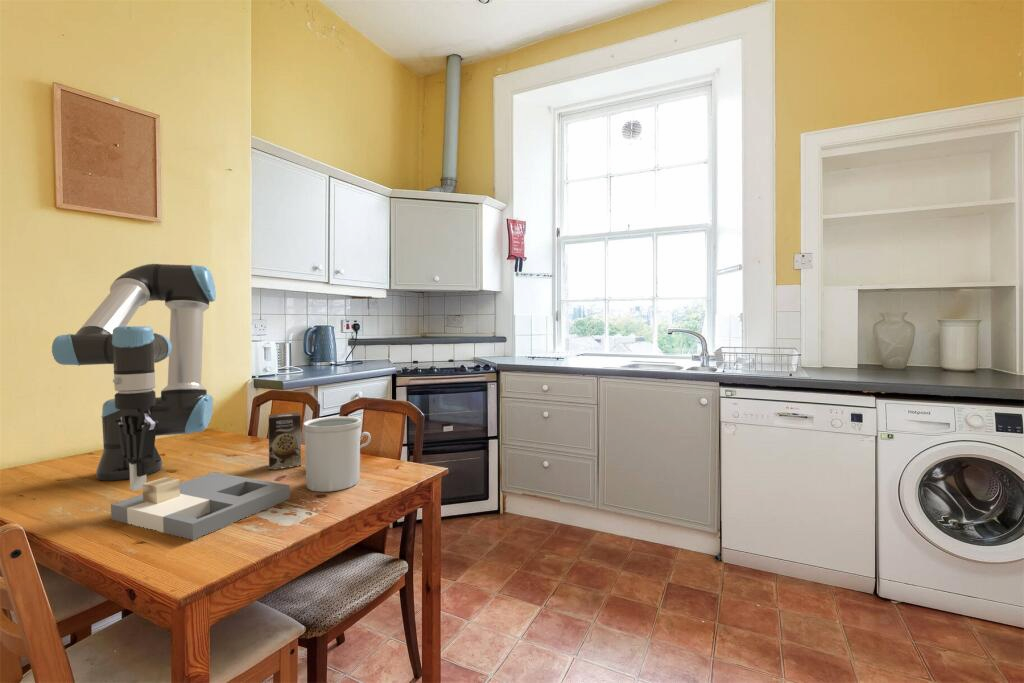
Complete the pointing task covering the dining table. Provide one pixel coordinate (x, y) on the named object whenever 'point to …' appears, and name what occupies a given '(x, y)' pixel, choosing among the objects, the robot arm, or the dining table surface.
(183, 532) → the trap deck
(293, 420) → the coffee box
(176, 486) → the birch block
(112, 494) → the dining table surface
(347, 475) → the utensil holder
